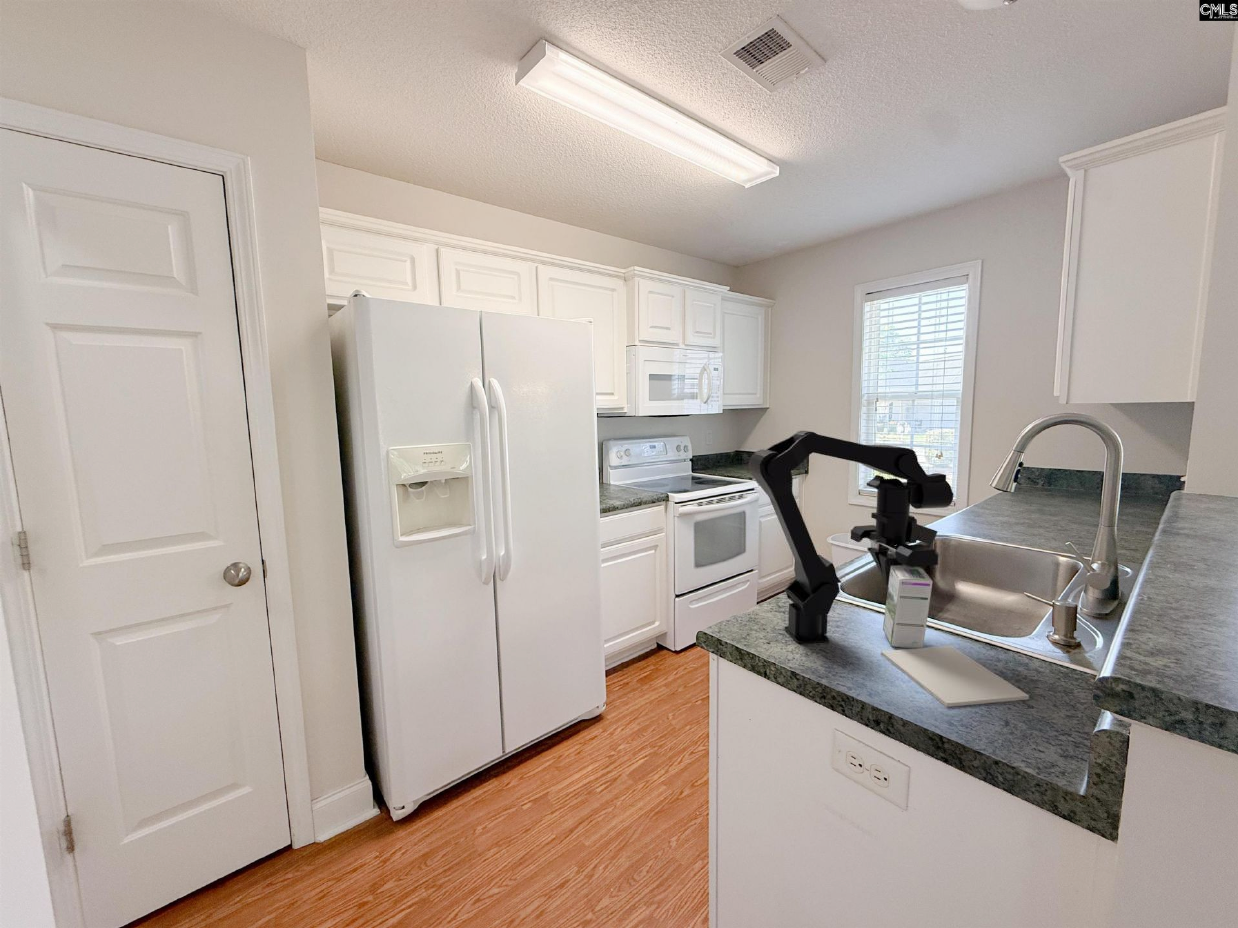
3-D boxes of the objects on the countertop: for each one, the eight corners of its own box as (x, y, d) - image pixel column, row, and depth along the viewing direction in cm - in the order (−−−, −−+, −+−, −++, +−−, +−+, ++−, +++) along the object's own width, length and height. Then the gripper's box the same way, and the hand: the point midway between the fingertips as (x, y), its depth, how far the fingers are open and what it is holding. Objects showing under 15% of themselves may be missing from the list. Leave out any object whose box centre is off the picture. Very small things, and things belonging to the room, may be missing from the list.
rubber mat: (946, 707, 76) (946, 703, 76) (880, 654, 92) (881, 651, 92) (1028, 699, 78) (1028, 695, 78) (950, 648, 94) (950, 645, 94)
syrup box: (923, 650, 94) (935, 580, 90) (889, 646, 95) (900, 577, 91) (912, 632, 99) (923, 566, 95) (880, 629, 100) (890, 564, 96)
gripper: (968, 518, 90) (962, 601, 92) (898, 498, 108) (894, 567, 110) (911, 522, 88) (907, 605, 91) (850, 500, 107) (847, 570, 109)
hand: (888, 585), depth 100 cm, fingers closed
